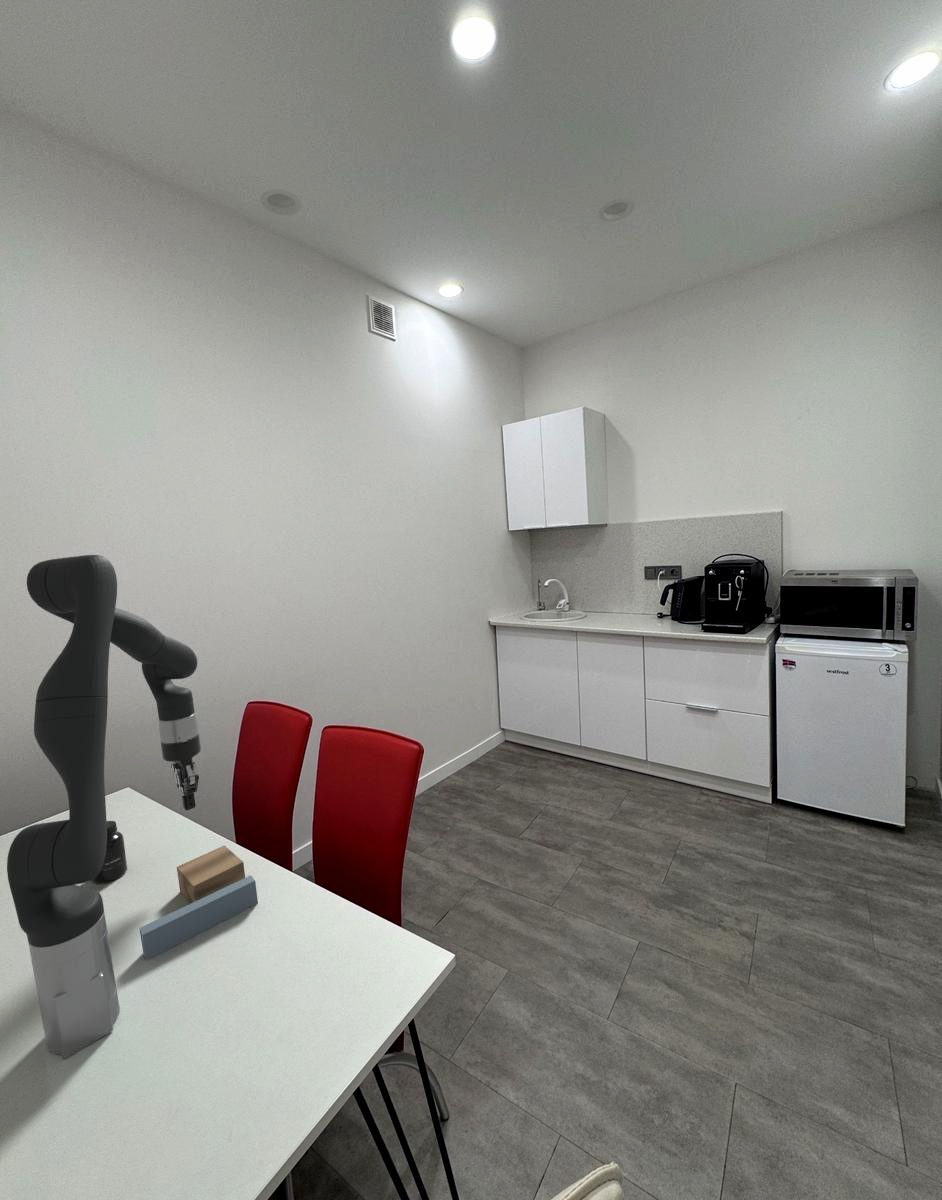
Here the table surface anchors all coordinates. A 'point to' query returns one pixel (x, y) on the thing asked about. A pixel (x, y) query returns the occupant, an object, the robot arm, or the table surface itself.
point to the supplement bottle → (112, 856)
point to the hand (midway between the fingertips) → (189, 808)
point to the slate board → (197, 917)
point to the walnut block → (209, 873)
